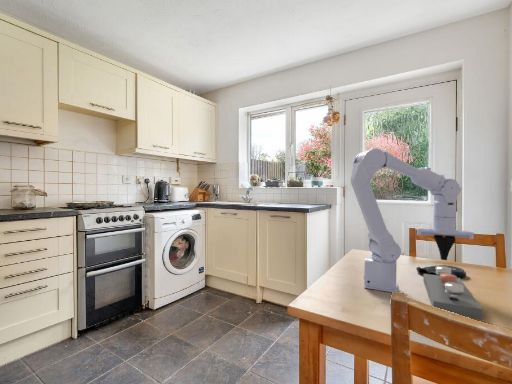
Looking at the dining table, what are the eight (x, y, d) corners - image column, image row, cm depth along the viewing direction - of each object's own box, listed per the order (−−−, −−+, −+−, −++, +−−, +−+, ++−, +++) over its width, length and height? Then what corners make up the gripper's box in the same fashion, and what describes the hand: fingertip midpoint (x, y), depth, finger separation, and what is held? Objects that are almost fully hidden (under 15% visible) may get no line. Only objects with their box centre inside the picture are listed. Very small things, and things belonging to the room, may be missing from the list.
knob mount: (433, 310, 70) (433, 301, 70) (423, 280, 91) (423, 273, 91) (482, 319, 65) (482, 309, 65) (459, 285, 87) (459, 278, 87)
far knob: (436, 281, 84) (436, 268, 84) (434, 277, 88) (435, 265, 88) (452, 283, 83) (452, 270, 82) (449, 279, 86) (449, 267, 86)
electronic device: (441, 287, 90) (473, 276, 94) (437, 270, 90) (469, 260, 95) (417, 281, 99) (447, 271, 103) (414, 266, 99) (444, 257, 104)
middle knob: (440, 290, 77) (441, 276, 77) (438, 285, 81) (438, 272, 81) (458, 292, 75) (458, 278, 75) (454, 287, 79) (455, 274, 79)
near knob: (446, 301, 70) (446, 286, 70) (443, 295, 74) (443, 281, 74) (465, 304, 68) (465, 288, 68) (461, 298, 72) (461, 283, 72)
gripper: (469, 216, 85) (468, 258, 85) (416, 214, 91) (416, 253, 92) (476, 219, 79) (475, 264, 79) (418, 216, 85) (417, 258, 86)
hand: (443, 259), depth 85 cm, fingers closed
